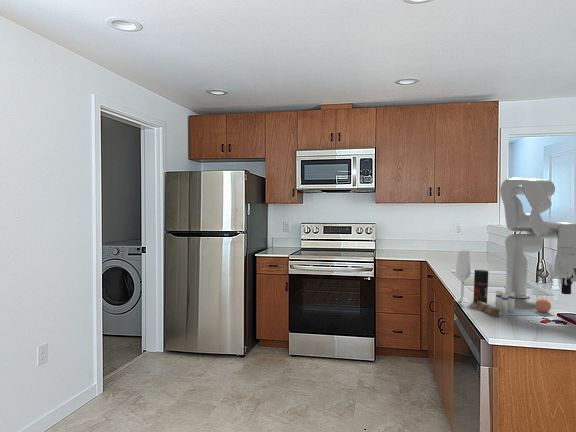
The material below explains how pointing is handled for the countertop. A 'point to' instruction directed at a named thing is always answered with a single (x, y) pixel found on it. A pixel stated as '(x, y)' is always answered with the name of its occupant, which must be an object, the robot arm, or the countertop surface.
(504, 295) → the pin
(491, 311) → the back wall
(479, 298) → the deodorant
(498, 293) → the pin
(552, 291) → the countertop surface
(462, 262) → the champagne flute
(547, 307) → the ball
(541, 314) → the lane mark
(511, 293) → the pin front
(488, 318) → the countertop surface
